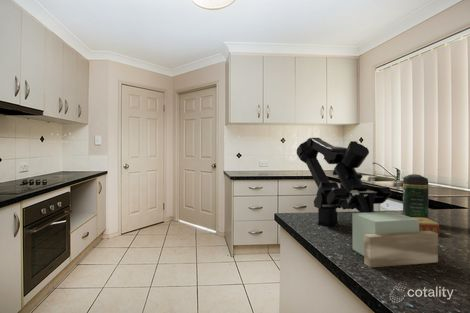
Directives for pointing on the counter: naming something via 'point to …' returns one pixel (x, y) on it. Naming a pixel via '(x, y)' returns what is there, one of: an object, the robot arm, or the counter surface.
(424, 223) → the carton
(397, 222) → the block
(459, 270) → the counter surface
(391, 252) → the board
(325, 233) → the counter surface
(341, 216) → the counter surface
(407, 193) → the coffee jar
